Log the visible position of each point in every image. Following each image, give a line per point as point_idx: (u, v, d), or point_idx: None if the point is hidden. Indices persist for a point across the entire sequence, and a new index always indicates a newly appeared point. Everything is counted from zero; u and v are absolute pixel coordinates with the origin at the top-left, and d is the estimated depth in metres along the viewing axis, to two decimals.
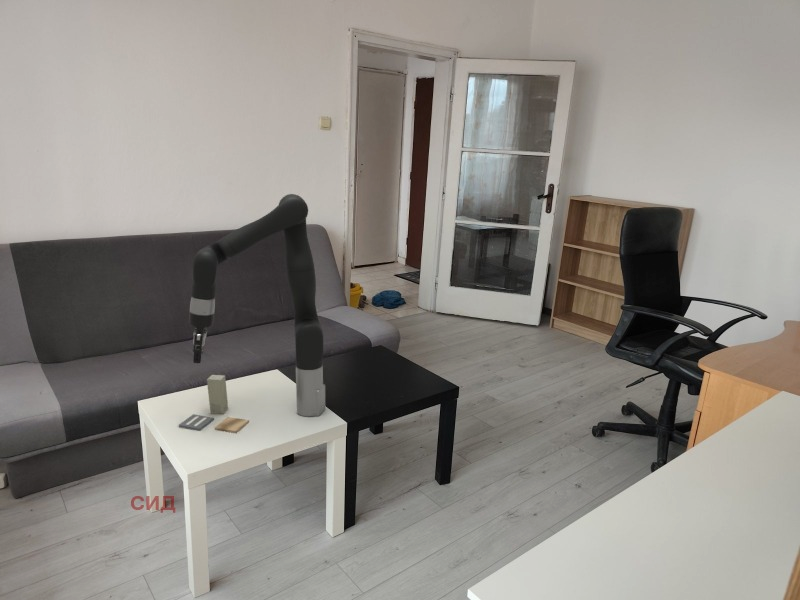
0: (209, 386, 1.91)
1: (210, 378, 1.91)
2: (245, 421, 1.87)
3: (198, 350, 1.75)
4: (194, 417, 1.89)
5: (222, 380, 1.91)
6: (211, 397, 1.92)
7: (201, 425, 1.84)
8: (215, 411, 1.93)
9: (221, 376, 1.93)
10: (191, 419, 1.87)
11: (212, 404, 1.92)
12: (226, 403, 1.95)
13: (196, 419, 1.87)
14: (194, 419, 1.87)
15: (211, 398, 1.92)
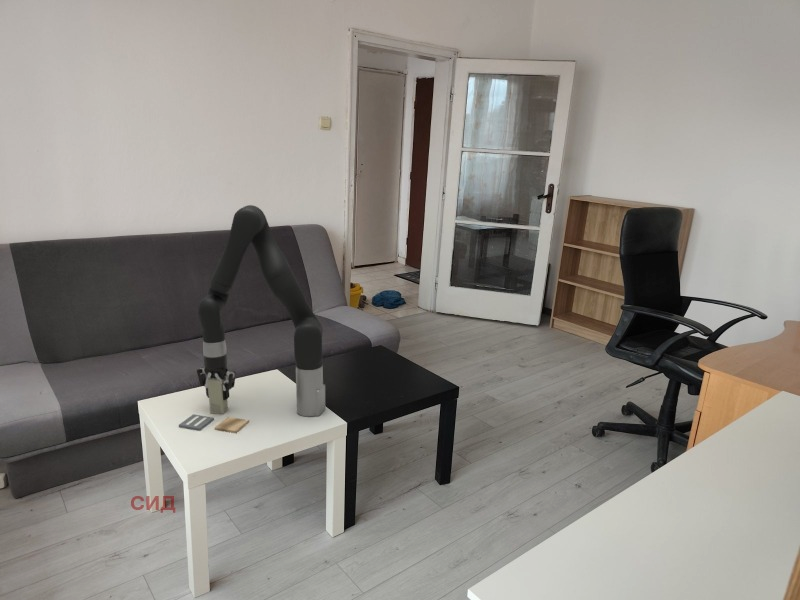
0: (209, 386, 1.91)
1: (210, 378, 1.91)
2: (245, 421, 1.87)
3: (232, 386, 1.91)
4: (194, 417, 1.89)
5: (222, 380, 1.91)
6: (211, 396, 1.92)
7: (201, 425, 1.84)
8: (215, 411, 1.93)
9: None
10: (191, 419, 1.87)
11: (212, 404, 1.92)
12: (226, 403, 1.95)
13: (196, 419, 1.87)
14: (194, 419, 1.87)
15: (211, 398, 1.92)
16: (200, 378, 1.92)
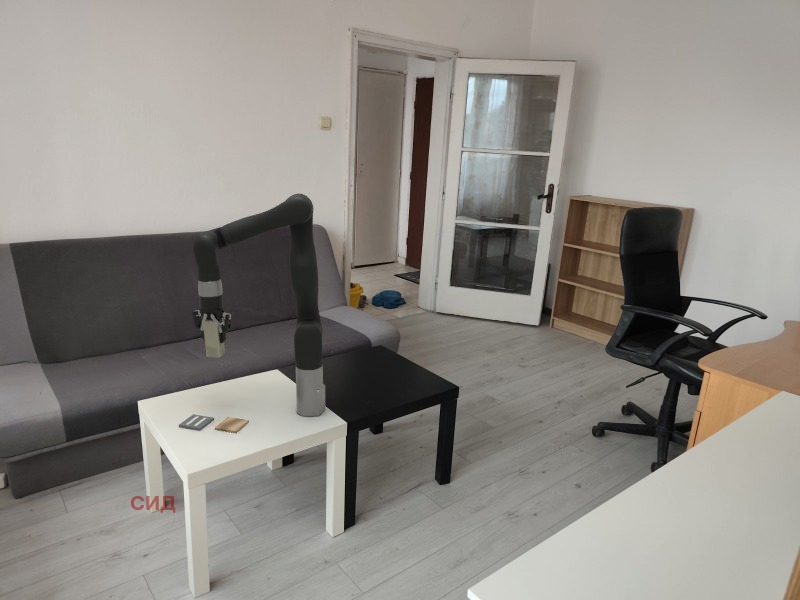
0: (205, 328, 1.85)
1: (206, 320, 1.85)
2: (245, 421, 1.87)
3: (229, 328, 1.86)
4: (194, 417, 1.89)
5: (218, 322, 1.86)
6: (207, 339, 1.86)
7: (201, 425, 1.84)
8: (211, 354, 1.88)
9: None
10: (191, 419, 1.87)
11: (209, 347, 1.87)
12: (223, 347, 1.90)
13: (196, 419, 1.87)
14: (194, 419, 1.87)
15: (207, 340, 1.86)
16: (196, 320, 1.87)
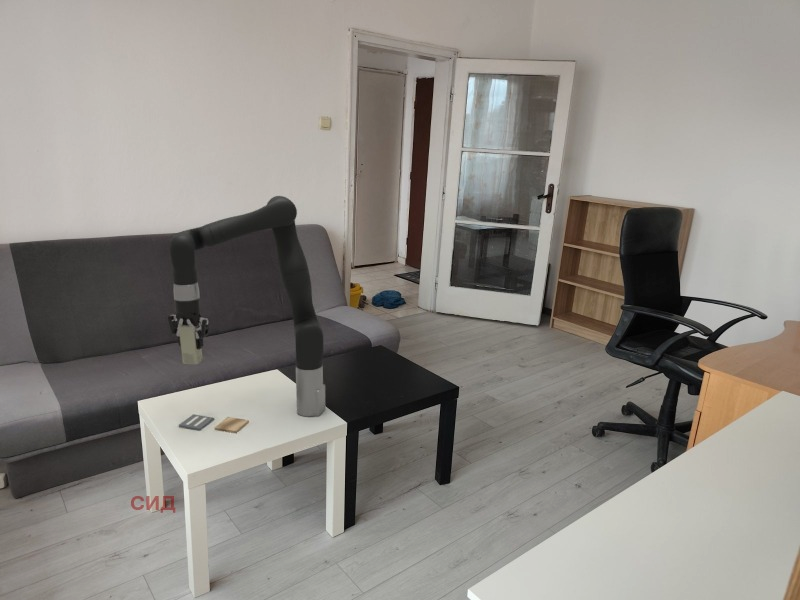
0: (181, 333, 1.76)
1: (182, 325, 1.76)
2: (245, 421, 1.87)
3: (206, 333, 1.77)
4: (194, 417, 1.89)
5: (195, 327, 1.77)
6: (183, 345, 1.77)
7: (201, 425, 1.84)
8: (188, 361, 1.78)
9: None
10: (191, 419, 1.87)
11: (185, 354, 1.78)
12: (200, 353, 1.81)
13: (196, 419, 1.87)
14: (194, 419, 1.87)
15: (184, 347, 1.77)
16: (171, 325, 1.78)
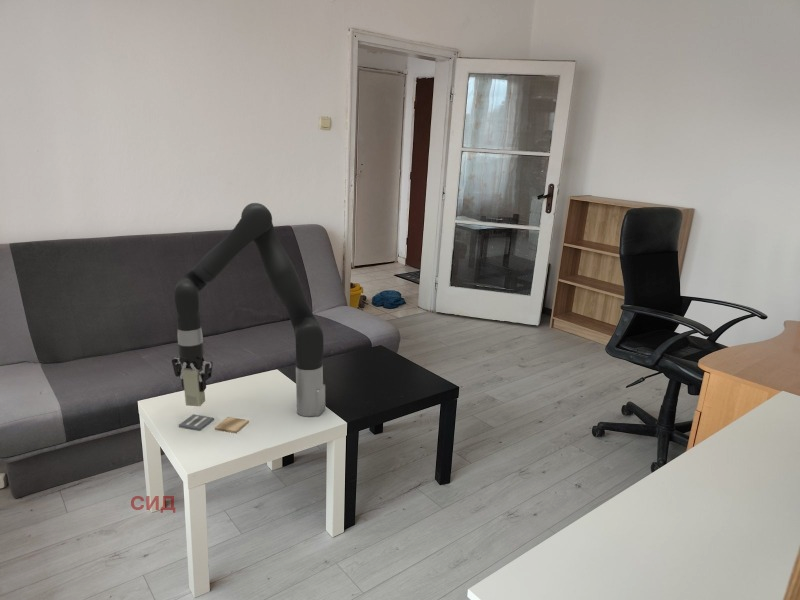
0: (184, 377, 1.80)
1: (186, 368, 1.80)
2: (245, 421, 1.87)
3: (209, 376, 1.81)
4: (194, 417, 1.89)
5: (198, 370, 1.80)
6: (187, 388, 1.81)
7: (201, 425, 1.84)
8: (191, 403, 1.82)
9: None
10: (191, 419, 1.87)
11: (188, 396, 1.82)
12: (203, 395, 1.84)
13: (196, 419, 1.87)
14: (194, 419, 1.87)
15: (187, 389, 1.81)
16: (175, 368, 1.82)
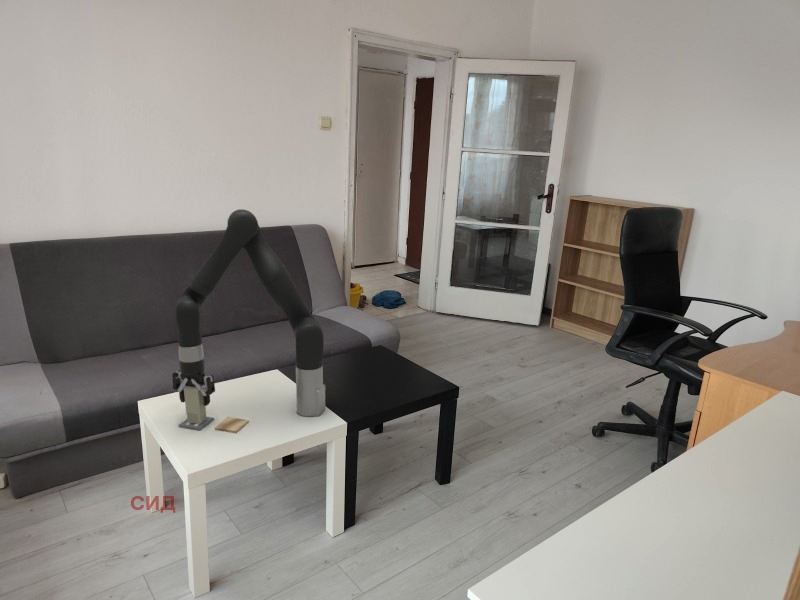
0: (186, 394, 1.82)
1: (187, 386, 1.82)
2: (245, 421, 1.87)
3: (213, 391, 1.82)
4: None
5: None
6: (188, 405, 1.83)
7: (201, 425, 1.84)
8: (192, 421, 1.84)
9: None
10: None
11: (189, 413, 1.83)
12: (204, 412, 1.86)
13: None
14: None
15: (188, 407, 1.83)
16: (174, 382, 1.83)
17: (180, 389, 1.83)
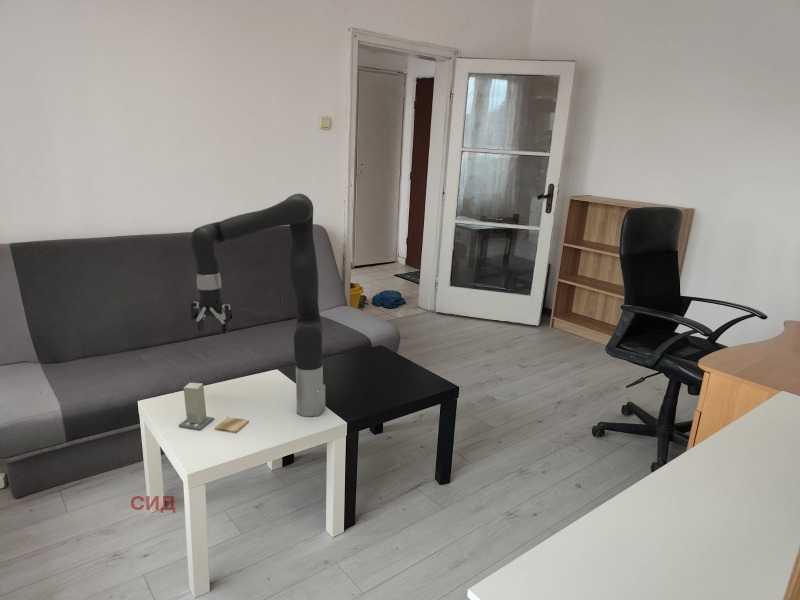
0: (186, 395, 1.82)
1: (187, 386, 1.82)
2: (245, 421, 1.87)
3: (231, 319, 1.87)
4: None
5: (199, 388, 1.82)
6: (188, 406, 1.83)
7: (201, 425, 1.84)
8: (192, 421, 1.84)
9: (199, 384, 1.83)
10: None
11: (189, 414, 1.83)
12: (204, 412, 1.86)
13: None
14: None
15: (188, 407, 1.83)
16: (192, 312, 1.88)
17: (198, 319, 1.88)
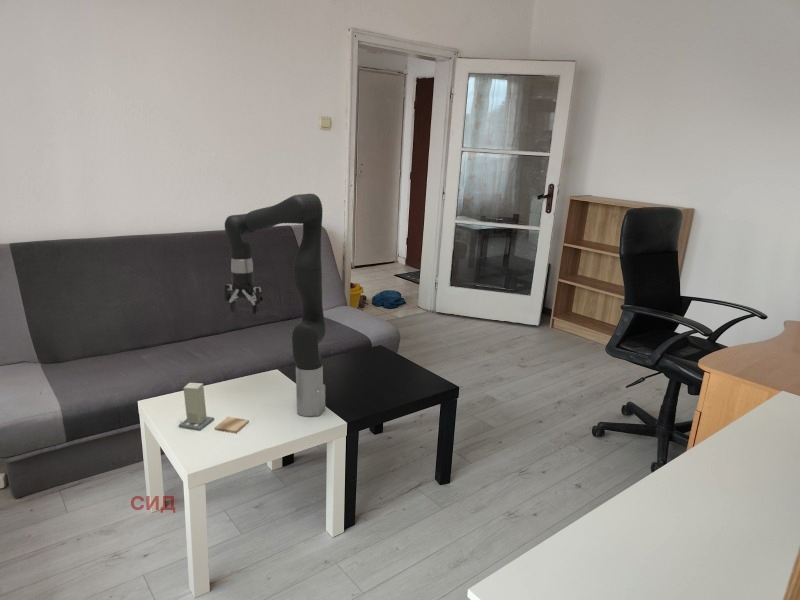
0: (186, 394, 1.82)
1: (187, 386, 1.82)
2: (245, 421, 1.87)
3: (261, 301, 2.03)
4: None
5: (199, 388, 1.82)
6: (188, 406, 1.83)
7: (201, 425, 1.84)
8: (192, 421, 1.84)
9: (199, 384, 1.84)
10: None
11: (189, 414, 1.83)
12: (204, 412, 1.86)
13: None
14: None
15: (188, 407, 1.83)
16: (226, 293, 2.04)
17: (231, 300, 2.05)
